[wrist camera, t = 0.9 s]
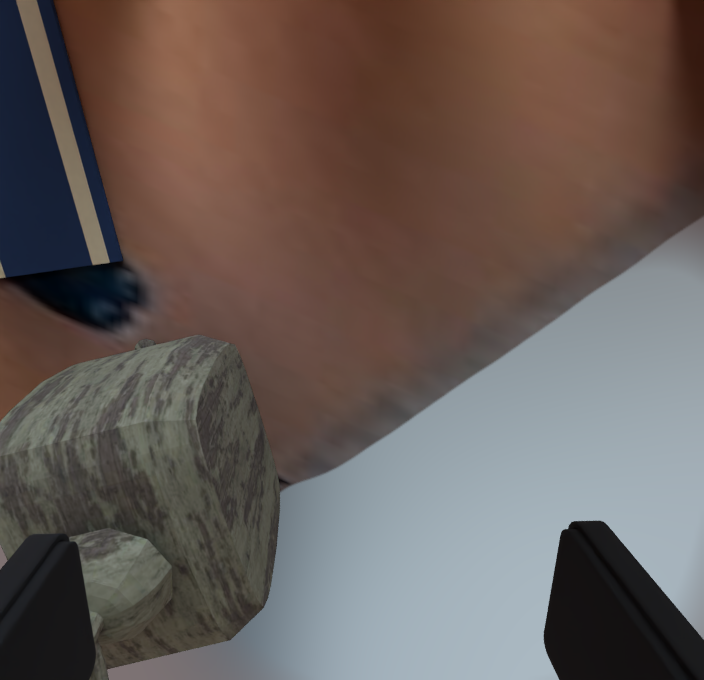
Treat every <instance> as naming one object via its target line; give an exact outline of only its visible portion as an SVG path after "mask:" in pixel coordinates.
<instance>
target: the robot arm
mask: <svg viewBox="0 0 704 680" xmlns="http://www.w3.org/2000/svg"><path fill="white" fill-rule="evenodd" d="M544 644H545V648H546V652H547V654H548V657H549V659H550V661H551V663H552V665H553V667H554V669H555V671H556V673H557V675H558V678H559V680H704V640H703V639H702V638H701V636H700V635H699V634H698V633H697V631H696V630H695V629H694V628H693V627H692V625H691V624H690V623H689V622H688V621H687V619H686V618H685V617H684V616H683V615H682V614H681V612H680V611H679V610H678V609H677V608H676V606H675V605H674V604H673V603H672V602H671V600H670V599H669V598H668V597H667V596H666V594H665V593H664V592H663V591H662V590H661V588H660V587H659V586H658V585H657V584H656V583H655V581H654V580H653V579H652V578H651V577H650V575H649V574H648V573H647V572H646V571H645V570H644V568H643V567H642V566H641V565H640V564H639V562H638V561H637V560H636V559H635V558H634V556H633V555H632V554H631V553H630V552H629V550H628V549H627V548H626V547H625V546H624V544H623V543H622V542H621V541H620V540H619V539H618V537H617V536H616V535H615V534H614V533H613V531H612V530H611V529H610V528H609V527H608V525H606V524H605V523H604V522H602V521H574V522H571V524H570V525H569V528H568V529H565V530H563V531H562V532H561V536H560V542H559V547H558V553H557V559H556V565H555V571H554V577H553V583H552V589H551V594H550V601H549V606H548V612H547V618H546V624H545V630H544ZM95 659H96V648H95V643H94V637H93V631H92V625H91V619H90V613H89V607H88V601H87V595H86V589H85V583H84V577H83V571H82V566H81V560H80V554H79V548H78V544H77V543H76V542H74V541H70V540H69V537H68V536H67V535H66V534H64V533H55V534H32V535H29V536H28V537H27V538H26V539H25V540H24V542H23V543H22V544H21V545H20V546H19V548H18V549H17V550H16V551H15V553H14V554H13V555H12V556H11V557H10V559H9V560H8V561H7V562H6V564H5V565H4V566H3V567H2V568H1V570H0V680H89V679H90V677H91V674H92V672H93V669H94V665H95Z"/></svg>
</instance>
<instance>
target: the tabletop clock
mask: <svg viewBox="0 0 704 680" xmlns="http://www.w3.org/2000/svg"><path fill="white" fill-rule="evenodd" d="M279 513H280V487H279V480H278V476H277V471H276V467H275V463H274V459H273V456H272V453H271V449H270V446H269V443H268V439H267V436H266V433H265V429H264V426H263V423H262V419H261V416H260V413H259V410H258V407H257V404H256V401H255V398H254V395H253V392H252V389H251V386H250V383H249V380H248V377H247V374H246V371H245V368H244V365H243V362H242V360H241V357H240V355H239V352H238V350H237V348H236V346H235V345H234V344H231V343H227V342H224V341H220V340H216V339H213V338H209V337H206V336H202V335H195V336H191V337H187V338H183V339H178V340H174V341H170V342H166V343H162V344H158V345H156V343H155V342H154V341H152V340H148V339H144V340H141V341H139V342H138V343H137V345H136V346H135V350H133V351H129V352H124V353H120V354H116V355H112V356H108V357H104V358H99V359H95V360H91V361H87V362H83V363H79V364H76V365H73V366H70V367H68V368H67V369H65V370H63V371H61V372H59V373H58V374H56V375H54V376H52V377H50V378H48V379H47V380H45V381H43V382H41V383H40V384H39V385H38V386H37V387H36V388H35V389H34V390H32V391H31V392H30V393H29V394H28V395H27V396H26V397H25V398H24V399H22V400H21V401H20V402H19V403H18V404H17V405H16V406H15V407H14V408H12V409H11V410H10V411H9V412H8V413H7V415H6V416H5V417H4V418H3V419H2V420H1V422H0V545H1V547H2V549H3V551H4V553H5V555H6V558H7V560H9V559H10V557H11V556H12V555H13V554H14V553H15V551H16V550H17V549H18V548H19V546H20V545H21V544H22V543H23V542H24V540H25V539H26V538H27V537H28V536H29V535H32V534H55V533H64V534H66V535H67V536H68V537H69V540H70V541H74V542H76V543H77V544H78V548H79V554H80V560H81V566H82V571H83V577H84V583H85V589H86V595H87V601H88V607H89V613H90V619H91V625H92V631H93V637H94V643H95V648H96V659H95V665H94V669H93V672H92V674H91V677H90V679H89V680H109V678H108V673H107V669H110V668H114V667H118V666H123V665H127V664H131V663H135V662H140V661H143V660H148V659H152V658H156V657H161V656H164V655H169V654H173V653H178V652H181V651H186V650H190V649H194V648H199V647H203V646H207V645H211V644H216V643H220V642H224V641H228V640H231V639H232V638H233V637H234V636H235V635H236V634H237V633H238V632H239V631H240V630H241V629H242V628H243V627H244V626H245V625H246V624H247V623H248V622H249V621H250V620H251V619H252V618H253V617H255V616H256V615H257V613H259V612H260V611H261V610H262V609H263V608H264V605H265V603H266V601H267V599H268V595H269V591H270V586H271V581H272V574H273V567H274V561H275V554H276V546H277V534H278V523H279Z"/></svg>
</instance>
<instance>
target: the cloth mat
mask: <svg viewBox="0 0 704 680" xmlns="http://www.w3.org/2000/svg"><path fill="white" fill-rule="evenodd" d="M119 261H123V257H122V254H121V250H120V246H119V243H118V239H117V235H116V232H115V228H114V224H113V220H112V217H111V213H110V209H109V206H108V202H107V198H106V195H105V191H104V187H103V183H102V180H101V176H100V172H99V169H98V165H97V161H96V158H95V154H94V150H93V147H92V143H91V139H90V135H89V132H88V128H87V124H86V121H85V117H84V113H83V110H82V106H81V102H80V98H79V95H78V91H77V87H76V84H75V80H74V76H73V73H72V69H71V65H70V61H69V58H68V54H67V50H66V47H65V43H64V39H63V36H62V32H61V28H60V25H59V21H58V17H57V13H56V10H55V6H54V2H53V0H0V278H7V277H14V276H21V275H28V274H35V273H42V272H49V271H56V270H63V269H70V268H77V267H84V266H91V265H98V264H105V263H112V262H119Z"/></svg>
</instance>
